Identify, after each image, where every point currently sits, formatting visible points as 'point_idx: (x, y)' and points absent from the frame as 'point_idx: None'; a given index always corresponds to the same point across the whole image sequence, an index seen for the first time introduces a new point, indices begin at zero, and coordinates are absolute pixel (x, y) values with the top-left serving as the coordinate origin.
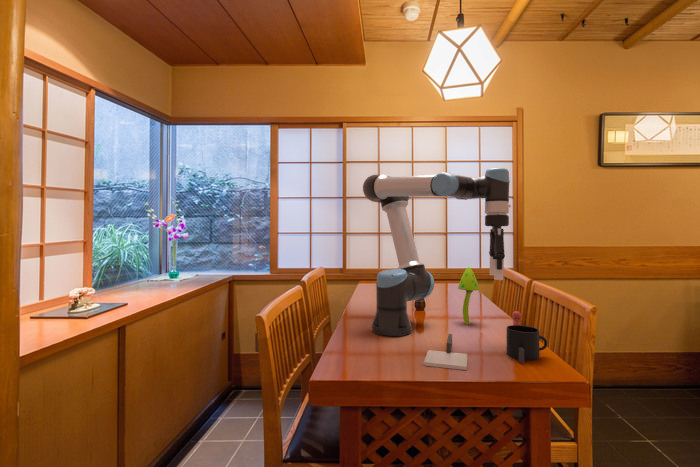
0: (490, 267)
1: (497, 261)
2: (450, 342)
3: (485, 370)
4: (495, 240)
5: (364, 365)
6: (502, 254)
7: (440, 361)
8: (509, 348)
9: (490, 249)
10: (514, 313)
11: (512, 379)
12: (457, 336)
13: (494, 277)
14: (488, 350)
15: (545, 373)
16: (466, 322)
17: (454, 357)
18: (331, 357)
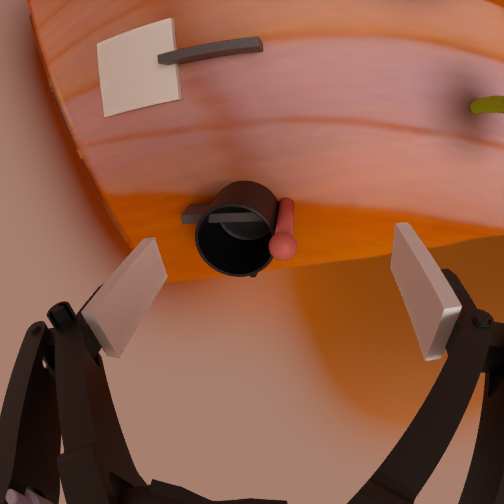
0: (412, 254)
1: (77, 315)
2: (167, 60)
3: (122, 146)
4: (4, 425)
5: None
6: (45, 362)
7: (110, 66)
8: (222, 192)
9: (475, 372)
10: (273, 243)
11: (106, 190)
12: (370, 62)
13: (138, 244)
14: (259, 140)
15: (159, 240)
16: (479, 102)
17: (142, 81)
18: None
